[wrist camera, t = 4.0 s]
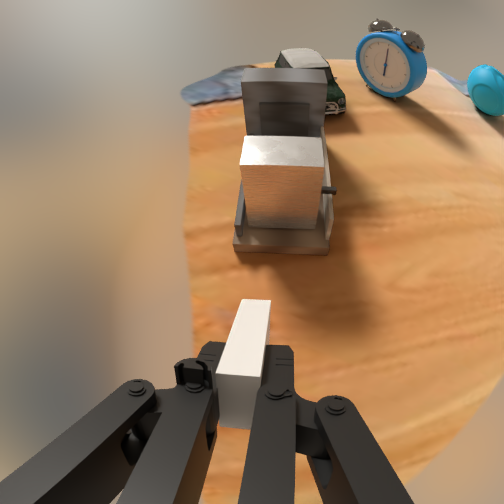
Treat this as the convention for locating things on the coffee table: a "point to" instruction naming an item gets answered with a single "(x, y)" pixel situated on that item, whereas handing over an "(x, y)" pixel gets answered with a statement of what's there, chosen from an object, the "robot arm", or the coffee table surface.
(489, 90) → the blue round piece
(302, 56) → the miniature car
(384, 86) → the alarm clock
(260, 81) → the frame
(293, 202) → the carriage
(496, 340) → the coffee table surface
